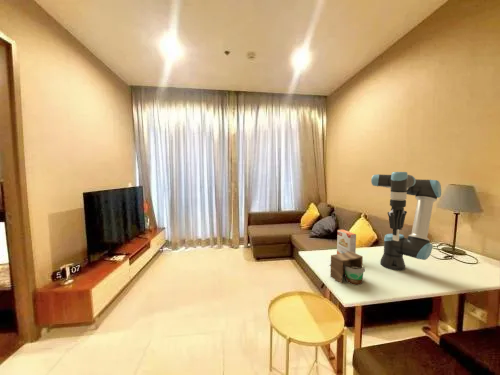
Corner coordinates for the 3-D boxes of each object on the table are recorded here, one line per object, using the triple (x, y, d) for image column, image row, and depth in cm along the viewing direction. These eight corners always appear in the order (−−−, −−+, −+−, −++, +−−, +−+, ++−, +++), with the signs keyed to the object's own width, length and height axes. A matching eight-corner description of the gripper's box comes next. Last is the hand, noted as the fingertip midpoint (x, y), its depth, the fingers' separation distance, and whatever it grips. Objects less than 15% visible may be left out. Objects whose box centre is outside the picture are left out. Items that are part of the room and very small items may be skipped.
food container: (344, 284, 134) (345, 268, 133) (342, 279, 140) (343, 264, 139) (367, 286, 131) (367, 270, 130) (364, 281, 137) (364, 266, 136)
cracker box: (336, 254, 180) (337, 229, 178) (342, 253, 182) (342, 229, 180) (349, 261, 167) (350, 234, 165) (355, 260, 169) (356, 233, 167)
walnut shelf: (350, 271, 150) (351, 251, 149) (361, 277, 142) (362, 256, 141) (330, 276, 144) (331, 255, 143) (340, 283, 136) (341, 260, 134)
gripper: (399, 197, 129) (397, 237, 132) (383, 199, 125) (381, 239, 127) (412, 199, 122) (410, 241, 125) (396, 200, 118) (394, 244, 120)
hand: (395, 240), depth 126 cm, fingers closed
